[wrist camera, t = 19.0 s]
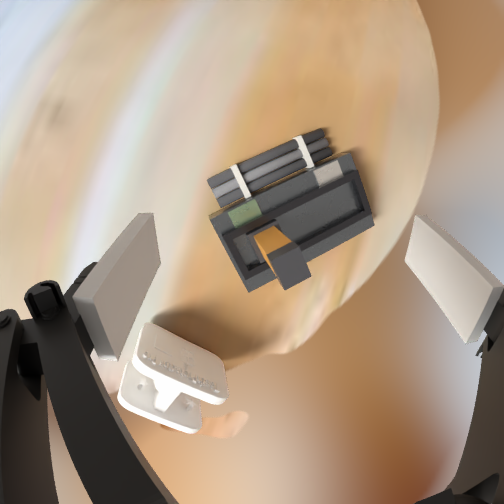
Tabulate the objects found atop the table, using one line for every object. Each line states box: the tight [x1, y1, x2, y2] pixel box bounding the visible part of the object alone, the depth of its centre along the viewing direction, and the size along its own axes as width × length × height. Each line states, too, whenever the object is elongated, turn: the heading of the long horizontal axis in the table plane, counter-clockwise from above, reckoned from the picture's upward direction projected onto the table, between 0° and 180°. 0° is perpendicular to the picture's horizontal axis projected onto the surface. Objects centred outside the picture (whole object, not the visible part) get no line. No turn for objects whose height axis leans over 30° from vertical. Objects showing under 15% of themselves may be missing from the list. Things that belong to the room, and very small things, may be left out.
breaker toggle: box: [246, 219, 311, 290], centre depth 35 cm, size 4×4×11 cm
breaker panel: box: [209, 153, 374, 292], centre depth 42 cm, size 22×12×4 cm, turn 115°
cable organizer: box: [118, 323, 229, 434], centre depth 42 cm, size 15×11×12 cm
